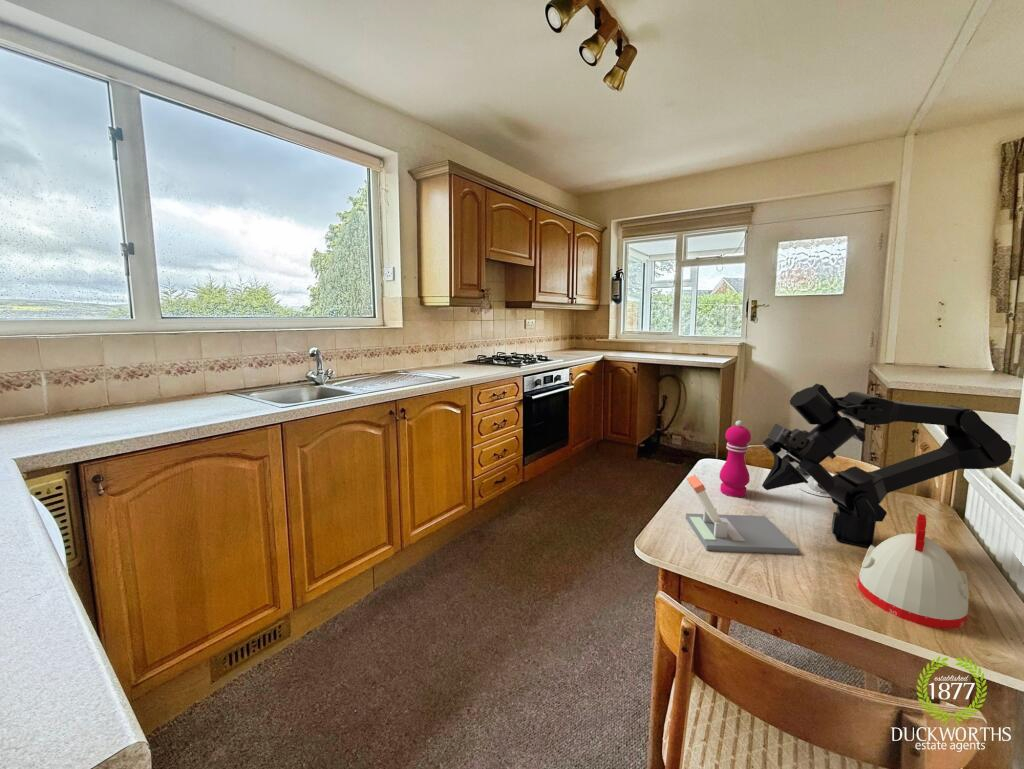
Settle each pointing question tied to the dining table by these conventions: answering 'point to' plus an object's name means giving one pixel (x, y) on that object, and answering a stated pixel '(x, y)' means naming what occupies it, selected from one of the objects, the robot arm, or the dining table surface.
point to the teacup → (813, 487)
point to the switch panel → (740, 534)
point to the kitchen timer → (915, 580)
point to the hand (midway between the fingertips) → (764, 488)
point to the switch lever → (704, 498)
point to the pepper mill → (735, 462)
